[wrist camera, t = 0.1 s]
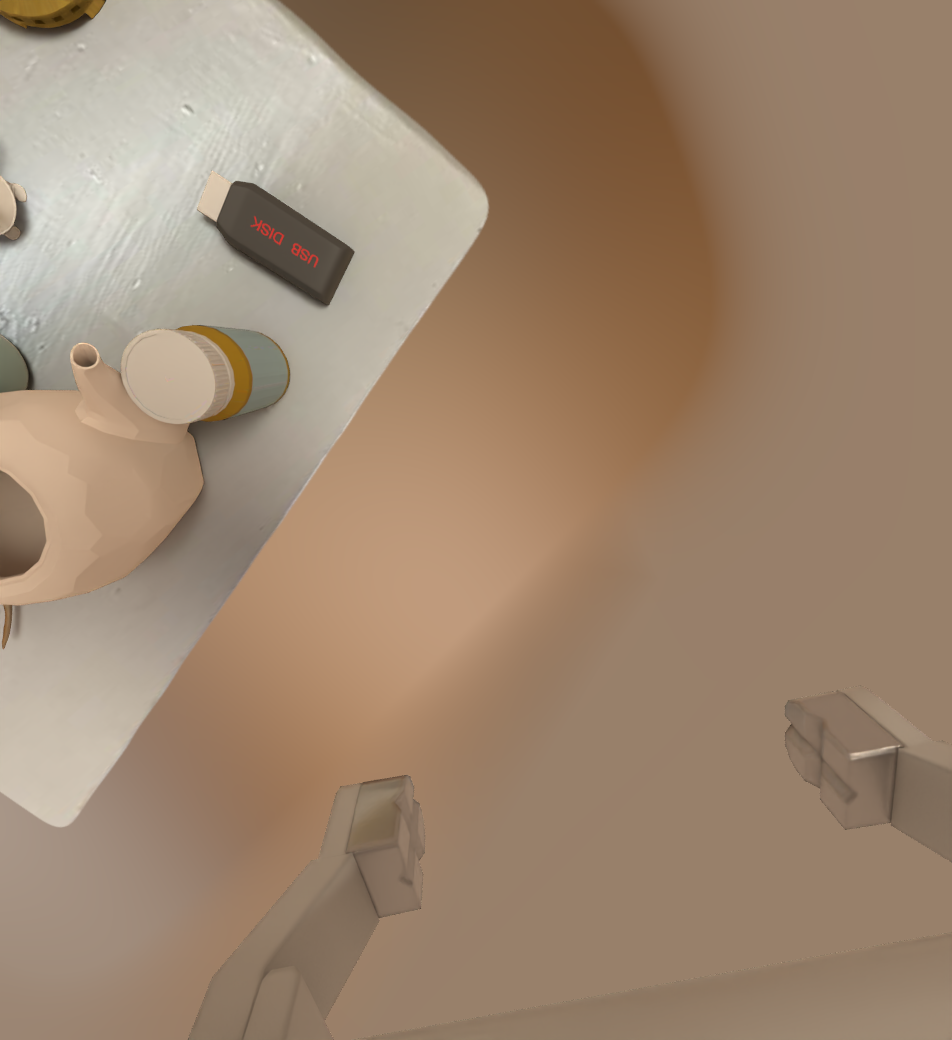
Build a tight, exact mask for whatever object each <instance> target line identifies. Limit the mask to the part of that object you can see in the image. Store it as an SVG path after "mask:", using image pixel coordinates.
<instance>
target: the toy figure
mask: <svg viewBox="0 0 952 1040" xmlns="http://www.w3.org/2000/svg"><path fill="white" fill-rule="evenodd" d="M15 199H16V200H19V201H22V202H25V201H26V199H27V196H26V192H25V190H24V188H23V187H22V186H20V185H19V184H15V183H12V184H11V183H9V182H7V181H5V180H4V179H3V178H2V177H1V176H0V235H2V234H4V235H5V236H6V237H7V238H8V239H11V240H16V239H17V238H18V237H19V236H20V230H19V229H18V228H17V227H15V226H13V224H14V221H15V218H16V203H15Z"/></svg>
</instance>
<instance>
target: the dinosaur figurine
mask: <svg viewBox="0 0 952 1040" xmlns="http://www.w3.org/2000/svg"><path fill="white" fill-rule="evenodd" d="M3 605H4V604H3ZM4 609H5V624H4V631H3V640H2V648H3V649H4V648H5V645H6V643H7V640H8V637H9V634H10V628H11V621H12V605H4Z"/></svg>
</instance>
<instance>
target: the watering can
mask: <svg viewBox="0 0 952 1040" xmlns="http://www.w3.org/2000/svg"><path fill="white" fill-rule="evenodd" d="M70 358H71V364H72V369H73V373H74V377H75V381H76V384H77V387H78V389H79V391H76V390H20V391H12V392H4V393H0V604H4V605H25V604H33V603H40V602H48V601H54V600H59V599H63V598H67V597H72V596H76V595H80V594H85V593H89V592H91V591H94V590H96V589H98V588H101V587H103V586H105V585H108V584H110V583H112V582H115V581H117V580H119V579H122V578H124V577H126V576H127V575H128V574H129V573H130V572H131V571H133V570H134V569H135V568H136V567H137V566H138V565H139V564H141V563H142V562H143V561H144V560H145V559H146V558H147V557H148V556H149V555H150V554H151V553H152V552H153V551H154V550H155V549H156V548H157V547H158V546H159V545H160V544H161V543H162V541H163V540H164V539H165V538H166V537H167V536H168V534H169V533H170V532H171V531H172V529H173V528H174V527H175V526H176V524H177V523H178V522H179V520H180V519H181V518H182V517H183V515H184V514H185V513H186V512H187V510H188V509H189V508H190V507H191V505H192V504H193V503H194V502H195V500H196V498H197V497H198V495H199V493H200V492H201V490H202V487H203V484H204V480H203V476H202V472H201V467H200V462H199V458H198V454H197V449H196V444H195V440H194V437H193V436H192V435H191V434H190V433H189V432H187V429H188V427H189V424H190V423H188V424H170V423H165V422H162V421H159V420H157V419H154V418H152V417H151V416H149V415H147V414H146V413H145V412H143V411H142V410H141V409H140V408H139V407H138V406H137V405H136V404H135V403H134V402H133V401H132V399H131V398H130V396H129V395H128V393H127V391H126V389H125V387H124V384H123V381H122V376H121V373H120V372H118V371H116V370H115V369H113V368H111V367H109V366H108V365H106V364H104V362H103V361H102V359H101V358H100V355H99V353H98V350H97V349H96V348H95V347H94V346H92V345H90V344H89V343H79V344H77V345H75V346H74V347H73V349H72V350H71V354H70Z"/></svg>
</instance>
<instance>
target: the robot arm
mask: <svg viewBox="0 0 952 1040" xmlns="http://www.w3.org/2000/svg"><path fill="white" fill-rule="evenodd" d="M785 717H787V719H788V720H789V721H790V722H791V723H792V724H791V725H790V727H789V728H788V729H787V731H786V732H785V745H786V749H787V751H788V755H789V757H790V760H791V762H792V763H793V765H794V767H795V768H796V770H797V772H798V773H799V774H800V775H801V777H802V778H803V779H804V780H805V781H806V782H808V783H810V784H812V785H814V786H816V787H818V788H820V800H821V801H822V802H823V803H824V805H825V806H826V807H827V809H828V810H829V811H830V812H831V813H832V815H833V816H834V817H835V818H836V819H837V821H838V822H839V823H840V824H841V826H842V827H843V828H844V829H845V830H847V829H853V828H860V827H866V826H873V825H878V824H886V823H891V826H893V827H895V828H896V829H898V830H900V831H901V832H903V833H905V834H906V835H908V836H910V837H911V838H913V839H914V840H916V841H918V842H919V843H921V844H923V845H925V846H926V847H927V848H929V849H931V850H932V851H934V852H936V853H938V854H939V855H941V856H942V857H944V858H945V859H947V860H949V861H950V862H952V744H950V743H947V742H945V741H937V742H934V741H933V740H931V739H930V738H929V737H927V736H926V735H925V734H924V733H923V732H921V731H920V730H919V729H918V728H916V727H915V726H914V725H912V724H911V723H910V722H909V721H908V720H906V719H905V718H904V717H903V716H901V715H900V714H899V713H898V712H897V711H895V710H894V709H893V708H892V707H890V706H889V705H888V704H887V703H886V702H884V701H883V700H882V699H881V698H879V697H878V696H877V695H876V694H874V693H873V692H872V691H871V690H869V689H868V688H866V687H863V686H856V687H851V688H847V689H842V690H837V691H835V692H833V691H832V692H828V693H823V694H818V695H813V696H808V697H803V698H798V699H793V700H789V701H788V702H787V704H786V705H785ZM413 796H414V786H413V783H412V780H411V777H410V776H408V775H404V776H398V777H392V778H387V779H380V780H374V781H368V782H363V783H359V784H353V785H347V786H341V787H340V788H339V790H338V791H337V793H336V796H335V799H334V803H333V807H332V810H331V814H330V818H329V821H328V825H327V829H326V832H325V836H324V840H323V843H322V847H321V851H320V854H319V858H318V859H317V860H312V861H311V862H310V863H309V864H308V865H307V866H306V867H305V869H304V870H303V871H302V872H301V874H299V876H298V877H297V878H296V879H295V880H294V882H293V883H292V884H291V885H290V886H289V887H288V889H287V890H286V891H285V892H284V893H283V895H282V896H281V897H280V898H279V899H278V901H277V902H276V903H275V904H274V905H273V906H272V908H271V909H270V910H269V911H268V912H267V914H266V915H265V916H264V917H263V918H262V919H261V921H260V922H259V923H258V924H257V925H256V926H255V928H254V929H253V930H252V931H251V932H250V934H249V935H248V936H247V937H246V938H245V939H244V941H243V942H242V943H241V944H240V945H239V947H238V948H237V949H236V950H235V951H234V952H233V954H232V955H231V956H230V957H229V958H228V960H227V961H226V962H225V963H224V964H223V965H222V967H221V968H220V969H219V970H218V971H217V973H216V974H215V975H214V976H213V977H212V979H211V982H210V984H209V987H208V990H207V992H206V995H205V997H204V1000H203V1002H202V1005H201V1007H200V1010H199V1013H198V1015H197V1017H196V1020H195V1023H194V1025H193V1028H192V1030H191V1033H190V1035H189V1038H188V1040H334V1039H333V1037H332V1035H331V1033H330V1031H329V1029H328V1027H327V1025H326V1023H325V1019H326V1017H327V1015H328V1014H329V1012H330V1010H331V1008H332V1006H333V1005H334V1003H335V1001H336V999H337V997H338V995H339V994H340V992H341V990H342V988H343V986H344V985H345V983H346V981H347V979H348V977H349V976H350V974H351V972H352V970H353V968H354V966H355V964H356V963H357V961H358V959H359V957H360V955H361V954H362V952H363V950H364V948H365V946H366V945H367V943H368V941H369V939H370V937H371V935H372V934H373V932H374V930H375V928H376V926H377V925H378V923H379V918H381V917H386V916H390V915H395V914H400V913H404V912H409V911H413V910H418V909H421V900H422V885H423V872H422V870H421V866H420V864H419V860H420V859H421V857H422V856H423V854H424V853H425V829H424V820H423V815H422V810H421V807H420V804H419V803H418V802H417V801H415V800H414V799H413ZM354 1040H952V932H949V933H944V934H938V935H933V936H927V937H922V938H916V939H910V940H905V941H899V942H894V943H888V944H883V945H877V946H872V947H866V948H860V949H855V950H850V951H844V952H838V953H833V954H827V955H822V956H816V957H811V958H805V959H800V960H794V961H788V962H783V963H777V964H772V965H767V966H761V967H756V968H750V969H744V970H738V971H733V972H727V973H722V974H716V975H711V976H705V977H700V978H694V979H689V980H683V981H677V982H672V983H666V984H661V985H655V986H650V987H644V988H639V989H633V990H627V991H622V992H616V993H611V994H605V995H600V996H594V997H589V998H583V999H577V1000H571V1001H566V1002H560V1003H555V1004H549V1005H544V1006H538V1007H532V1008H527V1009H521V1010H516V1011H510V1012H505V1013H499V1014H493V1015H488V1016H483V1017H477V1018H472V1019H465V1020H460V1021H454V1022H449V1023H443V1024H438V1025H432V1026H426V1027H421V1028H415V1029H410V1030H404V1031H399V1032H393V1033H387V1034H382V1035H376V1036H371V1037H365V1038H360V1039H354Z"/></svg>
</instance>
